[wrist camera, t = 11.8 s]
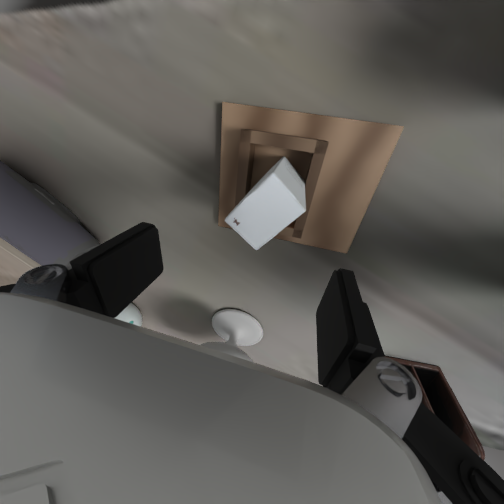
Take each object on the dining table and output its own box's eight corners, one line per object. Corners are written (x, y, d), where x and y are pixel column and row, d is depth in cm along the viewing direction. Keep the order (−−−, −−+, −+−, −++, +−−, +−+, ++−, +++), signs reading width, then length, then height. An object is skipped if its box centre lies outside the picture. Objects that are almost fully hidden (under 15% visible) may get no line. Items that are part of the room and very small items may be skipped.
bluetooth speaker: (-3, 177, 39) (-86, 190, 31) (1, 139, 34) (-96, 142, 26) (98, 257, 45) (50, 287, 36) (113, 234, 40) (62, 261, 32)
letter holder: (439, 365, 38) (498, 468, 27) (400, 411, 49) (430, 500, 37) (382, 354, 40) (413, 446, 29) (355, 400, 51) (371, 482, 39)
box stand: (399, 126, 22) (417, 126, 18) (345, 249, 31) (350, 265, 27) (225, 102, 24) (212, 98, 21) (220, 222, 33) (210, 233, 30)
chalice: (237, 295, 41) (207, 368, 28) (280, 336, 44) (270, 417, 32) (197, 317, 48) (158, 384, 35) (237, 352, 51) (215, 424, 39)
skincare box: (272, 210, 29) (254, 253, 19) (251, 188, 28) (221, 220, 18) (307, 180, 26) (308, 211, 16) (284, 153, 25) (270, 170, 15)
